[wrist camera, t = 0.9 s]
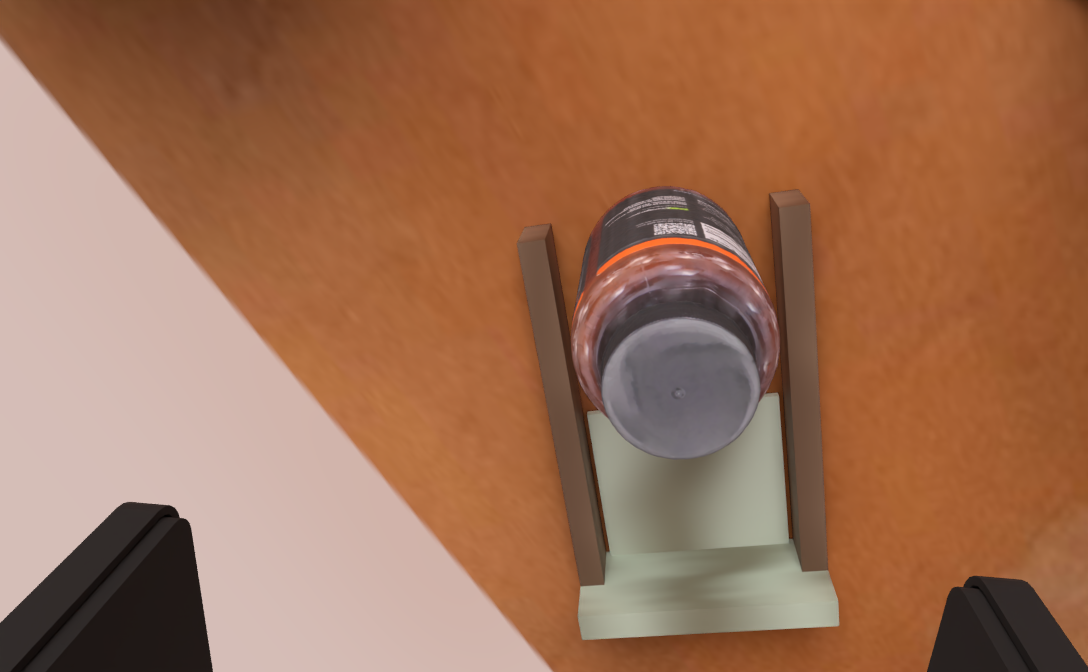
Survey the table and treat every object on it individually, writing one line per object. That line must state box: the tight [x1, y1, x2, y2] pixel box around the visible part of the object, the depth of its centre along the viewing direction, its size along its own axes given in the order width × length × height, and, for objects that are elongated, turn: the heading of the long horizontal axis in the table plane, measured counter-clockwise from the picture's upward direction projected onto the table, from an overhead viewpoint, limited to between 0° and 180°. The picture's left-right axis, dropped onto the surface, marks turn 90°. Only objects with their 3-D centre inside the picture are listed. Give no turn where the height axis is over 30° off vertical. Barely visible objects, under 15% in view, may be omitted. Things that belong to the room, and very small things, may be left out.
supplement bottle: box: [571, 186, 780, 460], centre depth 26 cm, size 6×6×11 cm
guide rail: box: [517, 189, 839, 640], centre depth 31 cm, size 10×16×4 cm, turn 10°
